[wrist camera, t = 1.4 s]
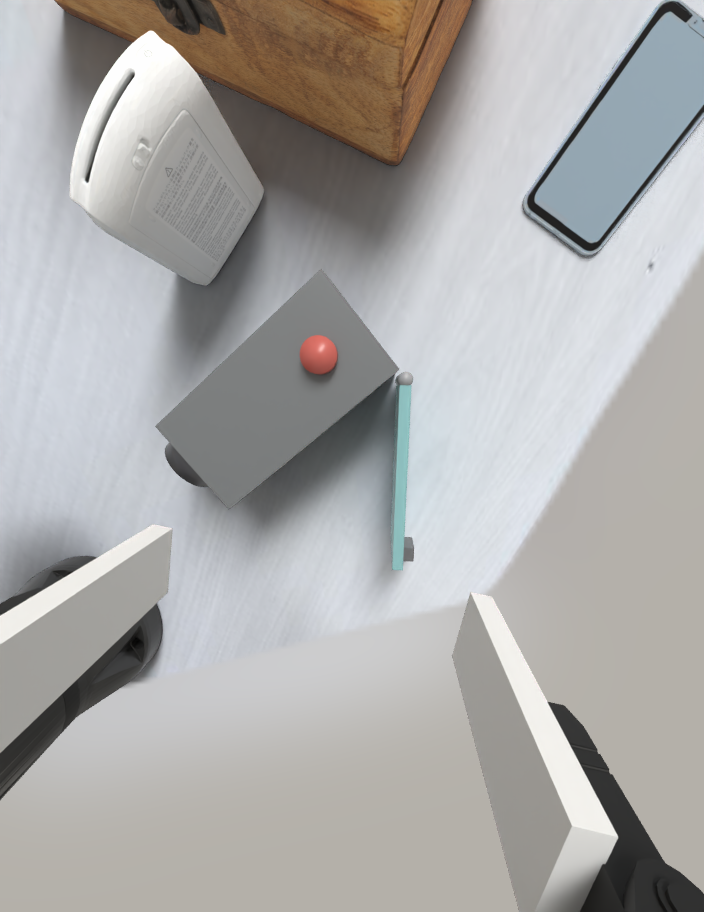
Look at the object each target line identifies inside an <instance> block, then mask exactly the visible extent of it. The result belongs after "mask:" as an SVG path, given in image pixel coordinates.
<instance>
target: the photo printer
mask: <svg viewBox="0 0 704 912" xmlns="http://www.w3.org/2000/svg"><path fill="white" fill-rule="evenodd" d="M263 194H264V188H263V186H262V184H261V182H260V181H259V179H258V177H257V176H256V174H255V172H254V171H253V169H252V167H251V165H250V164H249V162H248V160H247V158H246V156H245V155H244V153H243V151H242V150H241V148H240V146H239V144H238V143H237V141H236V139H235V138H234V136H233V134H232V132H231V131H230V129H229V127H228V125H227V123H226V122H225V120H224V118H223V116H222V115H221V113H220V111H219V110H218V108H217V106H216V104H215V103H214V101H213V99H212V97H211V96H210V94H209V92H208V90H207V89H206V87H205V86H204V84H203V83H202V81H201V79H200V77H199V76H198V74H197V73H196V72H195V70H194V69H193V68H192V67H191V66H190V65H189V63H188V62H187V61H186V60H185V59H184V58H183V57H182V56H181V55H180V54H179V53H178V52H177V51H176V50H175V48H174V47H172V46H171V45H169V44H167V43H165V42H164V41H163V40H162V39H161V38H160V37H159V36H158V35H157V34H156V33H155V32H153V31H148V32H147V33H145V34H144V35H142V36H141V37H140V38H138V39H137V40H136V41H135V42H133V43H132V44H131V45H130V46H129V47H128V48H127V49H126V50H125V52H124V53H123V54H122V55H121V56H120V57H119V59H118V60H117V61H116V62H115V64H114V65H113V67H112V68H111V69H110V71H109V72H108V74H107V75H106V77H105V79H104V80H103V82H102V84H101V85H100V87H99V89H98V91H97V93H96V94H95V96H94V99H93V101H92V103H91V105H90V107H89V110H88V112H87V114H86V117H85V119H84V122H83V125H82V128H81V131H80V134H79V137H78V141H77V144H76V148H75V152H74V157H73V162H72V168H71V175H70V198H71V199H72V200H73V201H74V202H75V203H77V204H78V205H80V206H81V207H82V208H84V210H85V211H86V213H87V214H88V216H89V217H90V218H91V219H92V220H93V222H94V223H95V224H96V225H98V226H99V227H100V228H101V229H102V230H104V231H105V232H106V233H108V234H109V235H111V236H113V237H114V238H116V239H118V240H120V241H121V242H123V243H125V244H127V245H128V246H130V247H132V248H133V249H135V250H137V251H139V252H140V253H142V254H144V255H146V256H147V257H149V258H151V259H152V260H154V261H156V262H158V263H159V264H161V265H163V266H164V267H166V268H168V269H170V270H171V271H173V272H175V273H176V274H178V275H180V276H182V277H183V278H185V279H187V280H189V281H190V282H192V283H195V284H201V285H204V286H207V285H208V284H209V283H210V282H211V281H212V280H213V279H214V278H215V277H216V275H217V274H218V272H219V271H220V269H221V268H222V266H223V264H224V263H225V262H226V260H227V258H228V257H229V255H230V253H231V252H232V250H233V249H234V247H235V245H236V244H237V242H238V240H239V239H240V237H241V235H242V234H243V232H244V230H245V229H246V227H247V225H248V224H249V222H250V221H251V219H252V217H253V215H254V213H255V211H256V210H257V208H258V206H259V204H260V202H261V199H262V197H263Z"/></svg>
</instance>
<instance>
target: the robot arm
mask: <svg viewBox="0 0 704 912" xmlns="http://www.w3.org/2000/svg"><path fill="white" fill-rule="evenodd" d="M172 529H173V528H168V527H163V526H159V525H154V524H153V525H151V526H149V527H148V528H146V529H144V530H143V531H141V532H139V533H138V534H136V535H134V536H133V537H131V538H129V539H128V540H126V541H124V542H123V543H121V544H119V545H118V546H116V547H114V548H113V549H111V550H109V551H108V552H106V553H104V554H103V555H101V556H99V557H98V558H97V557H90V556H79V557H72V558H68V559H65V560H62V561H60V562H58V563H56V564H55V565H53V566H51V567H49V568H47V569H45V570H43V571H42V572H40V573H38V574H37V575H36V576H34V577H33V578H32V579H30V580H29V581H28V582H27V583H26V584H25V585H24V586H23V587H22V588H21V589H20V590H19V591H18V592H17V593H16V594H15V595H14V596H13V597H12V598H10V599H8V600H6V601H5V602H3V603H1V604H0V800H1V799H2V798H3V796H4V795H5V794H6V793H7V792H8V791H9V790H10V789H11V788H12V787H13V786H14V784H15V783H16V782H17V781H18V780H19V779H20V778H21V777H22V775H24V773H25V772H26V771H27V770H28V769H29V768H30V767H31V766H32V765H33V763H35V761H36V760H37V759H38V758H39V757H40V756H41V755H42V754H43V753H44V751H45V750H46V749H47V748H48V747H49V746H50V745H51V744H52V743H53V742H54V740H55V739H56V738H57V737H58V736H59V735H60V734H61V733H62V732H63V731H64V729H66V727H67V726H68V725H69V724H70V723H71V722H72V721H73V720H74V719H75V718H76V717H77V716H78V715H80V714H81V713H83V712H85V711H86V710H88V709H89V708H90V707H92V706H94V705H95V704H97V703H98V702H100V701H101V700H102V699H104V698H106V697H107V696H109V695H110V694H112V693H113V692H115V691H116V690H118V689H119V688H121V687H122V686H124V685H125V684H127V683H128V682H130V681H131V680H132V679H133V678H135V677H136V676H137V675H138V674H139V673H140V672H141V670H142V669H143V668H144V667H145V666H146V665H147V663H148V662H149V661H150V660H151V659H152V658H153V656H154V655H155V653H156V651H157V649H158V647H159V644H160V641H161V635H162V623H161V617H160V613H159V610H158V607H157V605H156V603H157V602H158V601H159V600H161V599H162V598H163V597H164V596H165V595H166V594H167V593H168V583H169V569H170V556H171V542H172ZM452 658H453V661H454V665H455V669H456V673H457V677H458V680H459V684H460V688H461V692H462V696H463V700H464V703H465V707H466V711H467V715H468V719H469V723H470V726H471V730H472V734H473V737H474V741H475V745H476V749H477V753H478V757H479V761H480V765H481V768H482V772H483V776H484V780H485V783H486V787H487V791H488V795H489V799H490V803H491V807H492V810H493V814H494V818H495V821H496V825H497V830H498V833H499V837H500V841H501V844H502V849H503V852H504V856H505V860H506V864H507V868H508V871H509V875H510V879H511V883H512V887H513V890H514V894H515V898H516V902H517V906H518V910H519V912H704V894H703V892H702V891H701V890H700V889H699V888H697V887H696V886H695V885H694V884H693V883H692V882H691V881H689V880H688V879H687V878H686V877H685V876H684V875H683V874H681V873H680V872H679V871H677V870H676V869H674V868H672V867H671V866H669V865H667V864H666V863H665V862H664V860H663V859H662V857H661V856H660V854H659V852H658V851H657V849H656V847H655V846H654V844H653V842H652V840H651V839H650V837H649V835H648V834H647V832H646V831H645V829H644V827H643V825H642V824H641V822H640V821H639V819H638V817H637V816H636V814H635V812H634V810H633V809H632V807H631V805H630V804H629V802H628V800H627V799H626V797H625V795H624V793H623V792H622V790H621V788H620V787H619V785H618V784H617V782H616V780H615V778H614V777H613V775H612V774H610V773H609V768H608V767H607V765H606V763H605V762H604V760H603V758H602V757H601V755H600V754H598V752H597V748H596V746H595V745H594V743H593V741H592V740H591V738H590V736H589V735H588V733H587V731H586V730H585V728H584V726H583V725H582V724H581V723H580V722H579V721H578V720H577V719H576V718H575V717H574V716H573V714H572V713H571V712H570V711H569V710H568V709H567V708H566V707H565V706H564V705H559V704H555V703H551V702H547V701H546V699H545V697H544V695H543V693H542V691H541V689H540V687H539V685H538V683H537V682H536V680H535V678H534V676H533V674H532V672H531V670H530V668H529V666H528V664H527V663H526V661H525V659H524V657H523V655H522V653H521V651H520V649H519V647H518V646H517V644H516V642H515V640H514V638H513V636H512V634H511V632H510V630H509V628H508V626H507V625H506V623H505V621H504V619H503V617H502V615H501V613H500V611H499V609H498V607H497V605H496V604H495V602H494V600H493V598H492V597H491V596H486V595H482V594H477V593H472V592H471V593H470V596H469V599H468V603H467V606H466V610H465V613H464V617H463V620H462V624H461V627H460V630H459V634H458V637H457V641H456V644H455V648H454V651H453V655H452Z"/></svg>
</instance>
